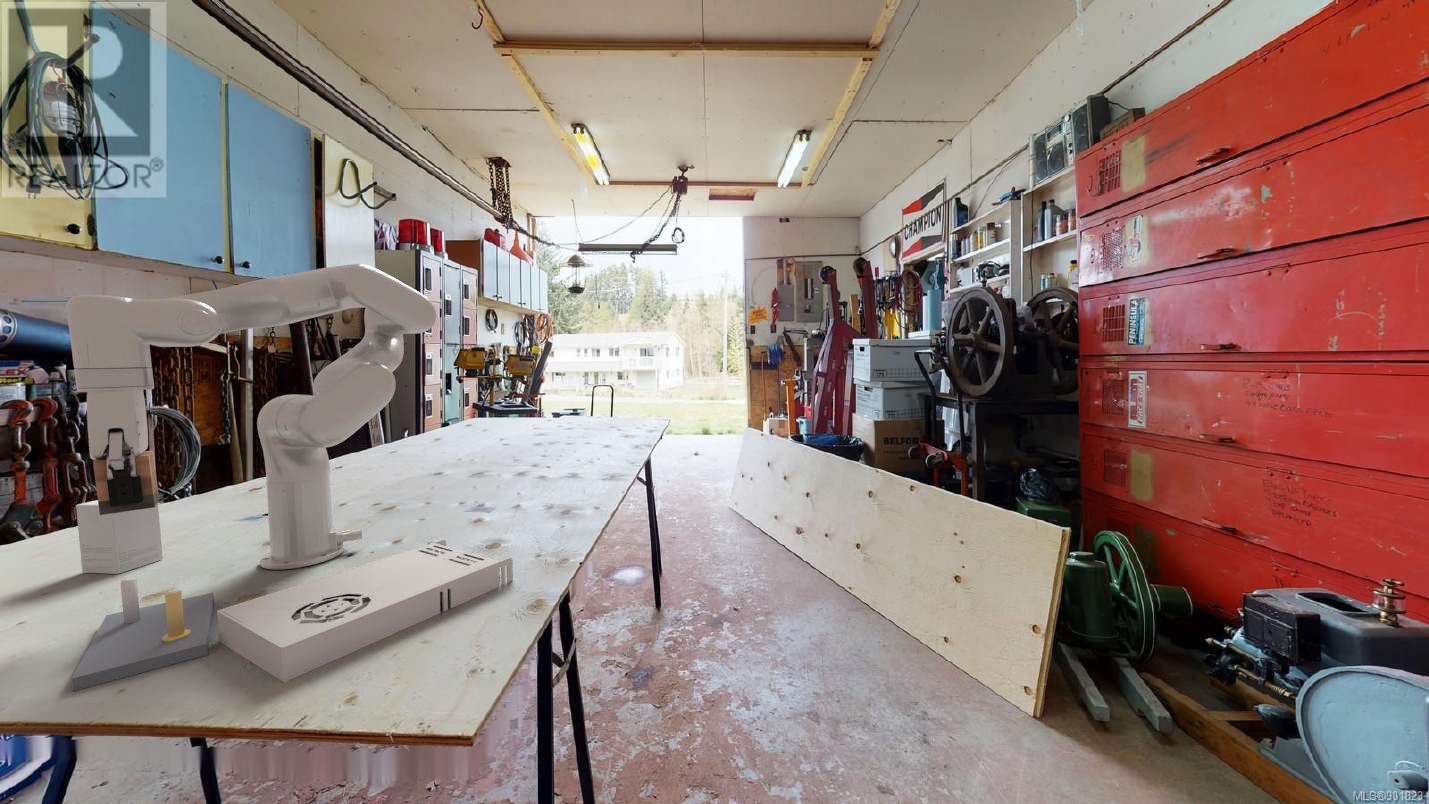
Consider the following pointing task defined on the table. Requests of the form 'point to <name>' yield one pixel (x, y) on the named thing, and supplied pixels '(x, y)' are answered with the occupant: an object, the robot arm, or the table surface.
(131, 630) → the pin board
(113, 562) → the supplement box
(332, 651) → the power supply unit
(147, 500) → the sleeve
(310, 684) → the table surface
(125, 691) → the table surface
